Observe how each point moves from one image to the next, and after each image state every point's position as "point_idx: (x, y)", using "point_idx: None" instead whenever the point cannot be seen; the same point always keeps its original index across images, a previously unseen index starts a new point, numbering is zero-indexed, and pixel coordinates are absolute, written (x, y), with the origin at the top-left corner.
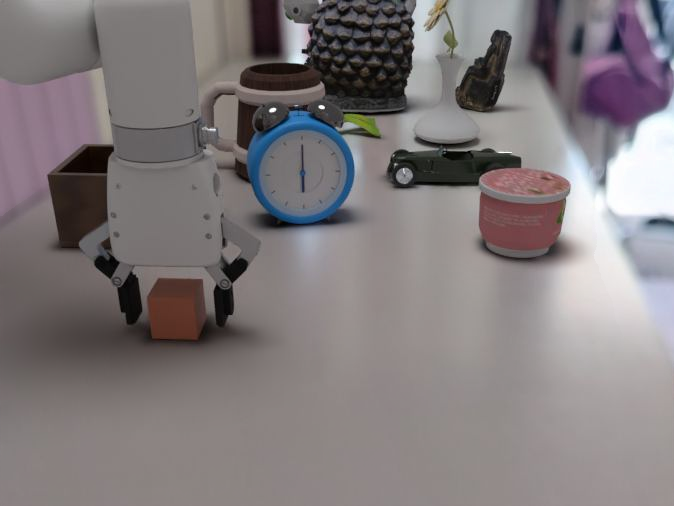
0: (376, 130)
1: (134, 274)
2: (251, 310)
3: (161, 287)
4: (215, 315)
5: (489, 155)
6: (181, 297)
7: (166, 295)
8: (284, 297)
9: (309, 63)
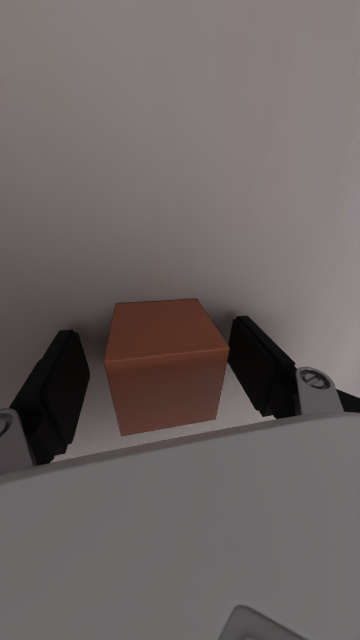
0: None
1: (30, 400)
2: (274, 257)
3: (136, 400)
4: (234, 373)
5: None
6: (193, 422)
7: (160, 422)
8: (348, 189)
9: None
